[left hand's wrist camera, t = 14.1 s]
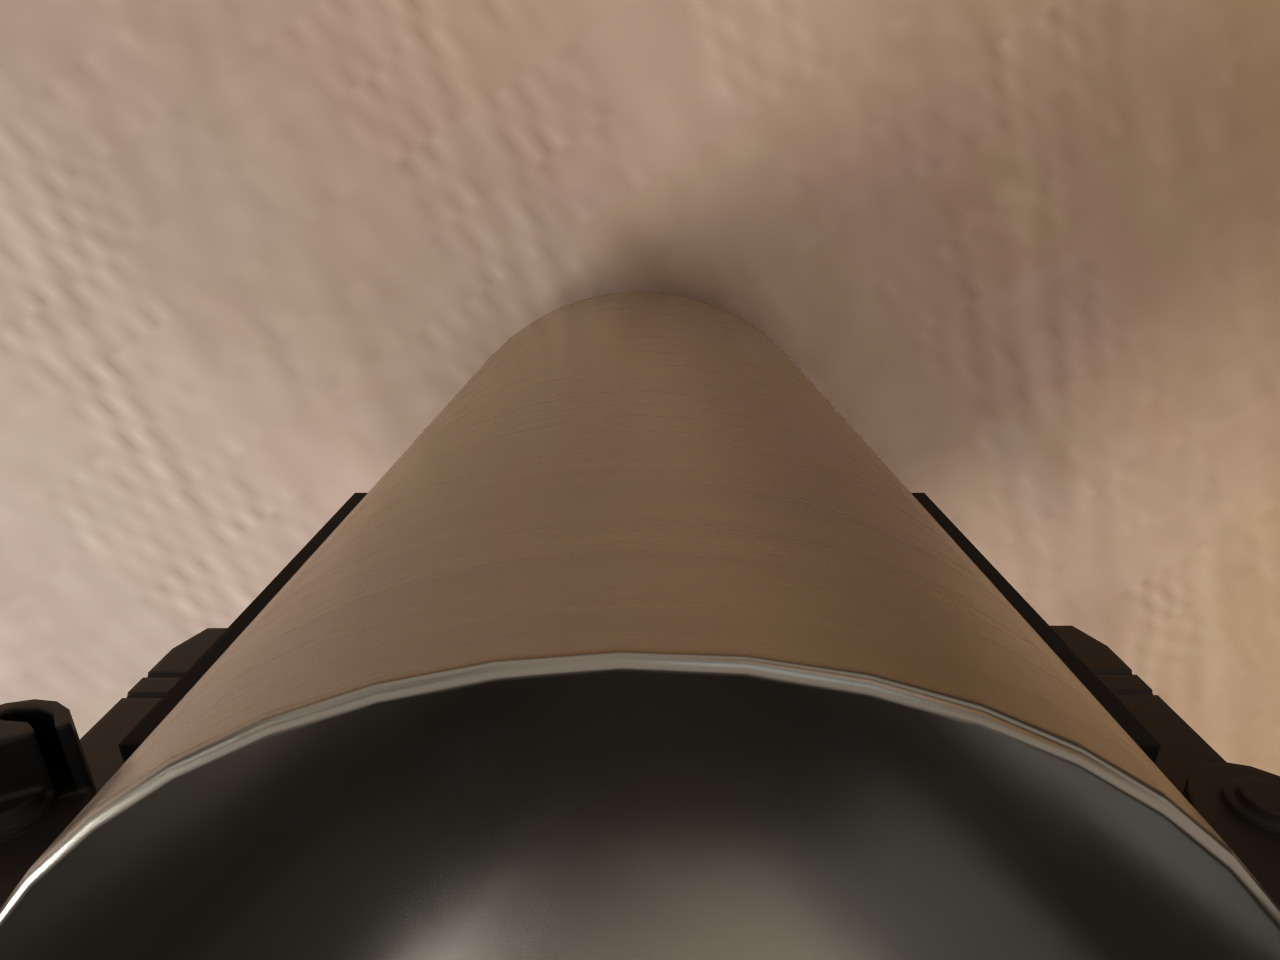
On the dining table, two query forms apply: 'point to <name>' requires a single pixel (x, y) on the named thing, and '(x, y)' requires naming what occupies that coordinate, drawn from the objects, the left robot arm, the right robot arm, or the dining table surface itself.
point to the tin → (639, 711)
